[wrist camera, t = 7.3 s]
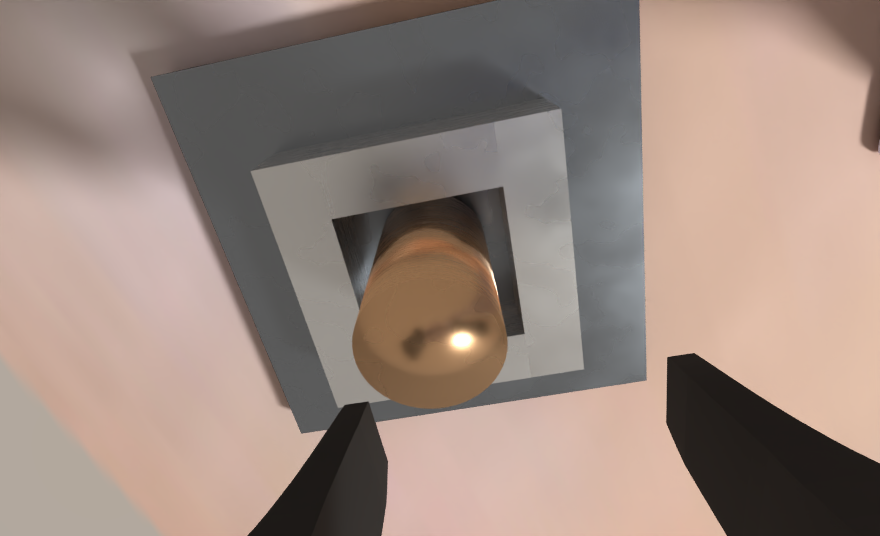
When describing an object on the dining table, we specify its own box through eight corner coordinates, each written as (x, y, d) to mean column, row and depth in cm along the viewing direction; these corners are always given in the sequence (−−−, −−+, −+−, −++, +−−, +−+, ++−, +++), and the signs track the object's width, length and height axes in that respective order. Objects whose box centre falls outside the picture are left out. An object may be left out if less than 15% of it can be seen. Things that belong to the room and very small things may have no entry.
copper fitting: (481, 188, 18) (504, 271, 12) (487, 284, 20) (510, 402, 13) (373, 199, 18) (338, 286, 12) (389, 293, 20) (365, 414, 14)
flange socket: (627, -28, 16) (673, -42, 13) (638, 366, 23) (670, 420, 20) (165, 74, 17) (104, 84, 14) (306, 418, 24) (286, 476, 21)
